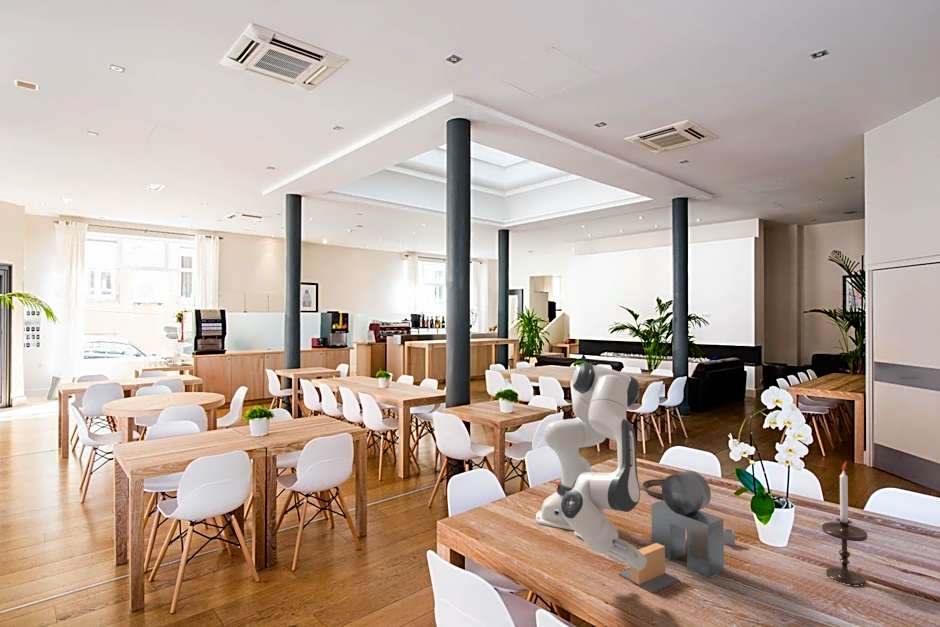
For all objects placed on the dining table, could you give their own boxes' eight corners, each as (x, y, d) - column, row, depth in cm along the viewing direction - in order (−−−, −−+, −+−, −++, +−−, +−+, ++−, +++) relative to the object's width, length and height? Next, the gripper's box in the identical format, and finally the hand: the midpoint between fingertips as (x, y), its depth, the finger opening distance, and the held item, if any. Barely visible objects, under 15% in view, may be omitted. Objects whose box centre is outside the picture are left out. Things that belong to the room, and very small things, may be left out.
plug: (638, 584, 147) (638, 556, 147) (630, 580, 150) (630, 552, 150) (665, 572, 154) (664, 546, 154) (656, 568, 156) (656, 542, 156)
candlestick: (877, 584, 147) (876, 463, 147) (849, 590, 144) (848, 467, 144) (840, 567, 158) (839, 454, 158) (813, 572, 155) (812, 457, 155)
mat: (652, 593, 144) (652, 591, 144) (619, 575, 154) (619, 573, 154) (678, 580, 150) (678, 579, 150) (645, 564, 160) (645, 562, 160)
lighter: (734, 543, 174) (733, 520, 174) (735, 545, 173) (734, 522, 173) (711, 540, 177) (711, 517, 177) (712, 543, 175) (711, 519, 175)
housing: (708, 578, 151) (707, 484, 151) (651, 552, 168) (651, 467, 168) (723, 571, 156) (722, 479, 156) (667, 546, 172) (666, 463, 173)
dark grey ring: (636, 495, 222) (636, 488, 222) (649, 482, 239) (649, 475, 239) (686, 505, 210) (686, 497, 210) (696, 491, 227) (696, 483, 227)
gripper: (636, 538, 133) (660, 565, 139) (580, 513, 151) (603, 538, 156) (625, 560, 131) (650, 587, 136) (569, 532, 148) (593, 557, 153)
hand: (625, 561), depth 146 cm, fingers open, 8 cm apart
